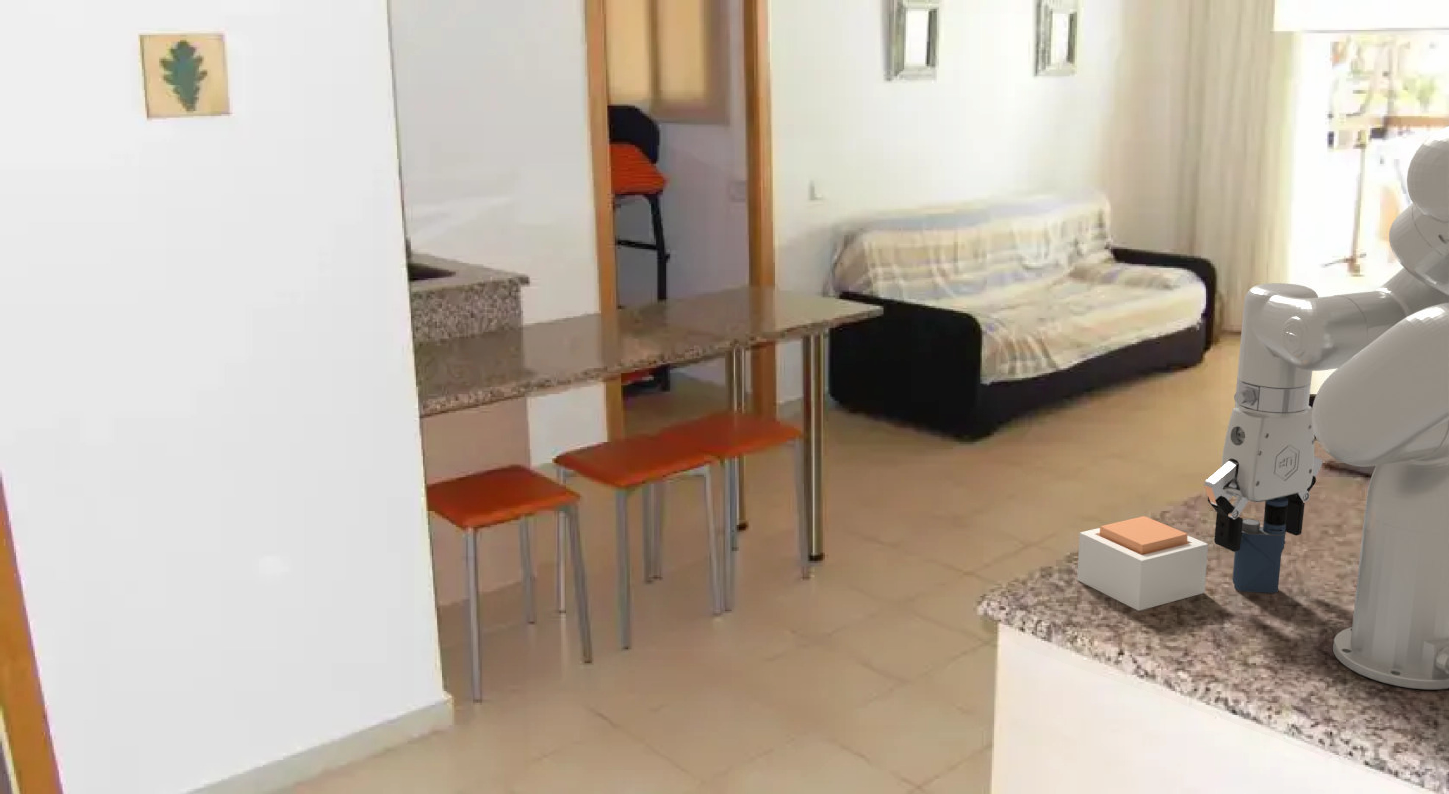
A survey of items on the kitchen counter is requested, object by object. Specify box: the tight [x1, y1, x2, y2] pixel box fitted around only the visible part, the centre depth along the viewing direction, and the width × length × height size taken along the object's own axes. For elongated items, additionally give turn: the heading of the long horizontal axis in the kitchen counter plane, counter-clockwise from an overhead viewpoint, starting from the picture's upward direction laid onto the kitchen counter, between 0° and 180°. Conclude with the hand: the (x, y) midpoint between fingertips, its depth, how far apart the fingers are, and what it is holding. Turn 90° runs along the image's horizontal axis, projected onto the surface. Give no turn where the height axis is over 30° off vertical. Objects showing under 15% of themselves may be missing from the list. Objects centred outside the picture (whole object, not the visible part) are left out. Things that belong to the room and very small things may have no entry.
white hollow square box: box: [1076, 527, 1209, 612], centre depth 146 cm, size 10×10×6 cm
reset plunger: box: [1099, 515, 1189, 555], centre depth 146 cm, size 7×7×3 cm
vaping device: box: [1232, 497, 1288, 594], centre depth 144 cm, size 3×5×12 cm, turn 79°
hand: (1257, 539), depth 145 cm, fingers open, 9 cm apart
